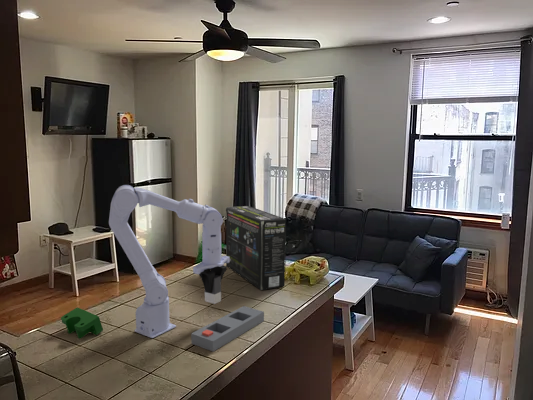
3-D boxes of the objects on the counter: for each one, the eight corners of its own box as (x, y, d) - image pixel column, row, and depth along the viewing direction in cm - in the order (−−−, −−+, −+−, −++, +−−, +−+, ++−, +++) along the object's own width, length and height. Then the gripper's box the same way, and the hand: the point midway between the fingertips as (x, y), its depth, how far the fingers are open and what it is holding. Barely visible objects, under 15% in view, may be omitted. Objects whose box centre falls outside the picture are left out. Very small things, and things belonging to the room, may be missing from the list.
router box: (286, 287, 169) (287, 218, 165) (261, 291, 164) (261, 221, 159) (247, 262, 200) (247, 204, 196) (224, 265, 195) (224, 206, 191)
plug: (214, 303, 134) (214, 278, 132) (204, 301, 136) (204, 276, 135) (221, 300, 136) (220, 276, 135) (211, 298, 138) (210, 273, 137)
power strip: (213, 351, 119) (212, 339, 118) (191, 343, 123) (191, 331, 122) (264, 320, 138) (264, 309, 138) (243, 314, 143) (243, 304, 142)
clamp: (71, 345, 131) (56, 318, 130) (89, 333, 135) (74, 307, 135) (88, 342, 123) (72, 314, 122) (106, 330, 127) (91, 303, 127)
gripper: (205, 255, 125) (206, 300, 127) (237, 244, 137) (237, 286, 139) (187, 251, 129) (188, 295, 131) (219, 241, 141) (220, 281, 143)
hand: (212, 290), depth 136 cm, fingers closed on plug, 3 cm apart
